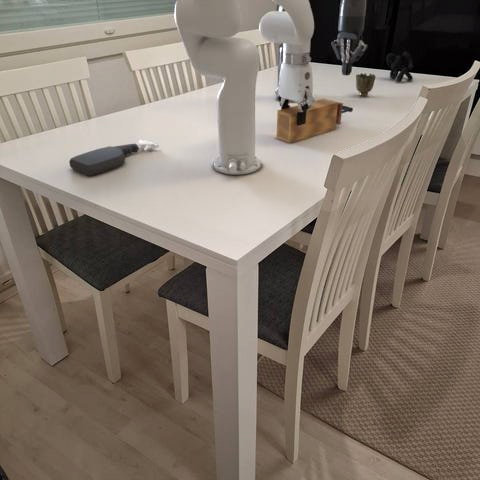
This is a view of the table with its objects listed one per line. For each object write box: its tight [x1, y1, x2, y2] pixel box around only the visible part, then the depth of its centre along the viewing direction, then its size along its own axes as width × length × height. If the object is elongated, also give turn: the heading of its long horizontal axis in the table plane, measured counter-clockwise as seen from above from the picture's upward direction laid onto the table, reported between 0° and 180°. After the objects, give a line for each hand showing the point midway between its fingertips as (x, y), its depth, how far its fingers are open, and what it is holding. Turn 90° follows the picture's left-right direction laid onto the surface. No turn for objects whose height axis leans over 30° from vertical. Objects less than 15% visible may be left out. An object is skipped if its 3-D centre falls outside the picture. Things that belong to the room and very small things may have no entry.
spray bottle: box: [68, 139, 160, 177], centre depth 124 cm, size 3×11×24 cm
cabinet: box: [276, 98, 339, 144], centre depth 139 cm, size 20×6×9 cm, turn 128°
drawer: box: [330, 99, 354, 126], centre depth 142 cm, size 25×5×7 cm, turn 128°
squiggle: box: [385, 51, 414, 83], centre depth 198 cm, size 11×10×15 cm
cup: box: [355, 73, 377, 97], centre depth 176 cm, size 8×7×8 cm
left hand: (293, 121), depth 135 cm, fingers closed on cabinet, 6 cm apart
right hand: (346, 74), depth 141 cm, fingers closed
